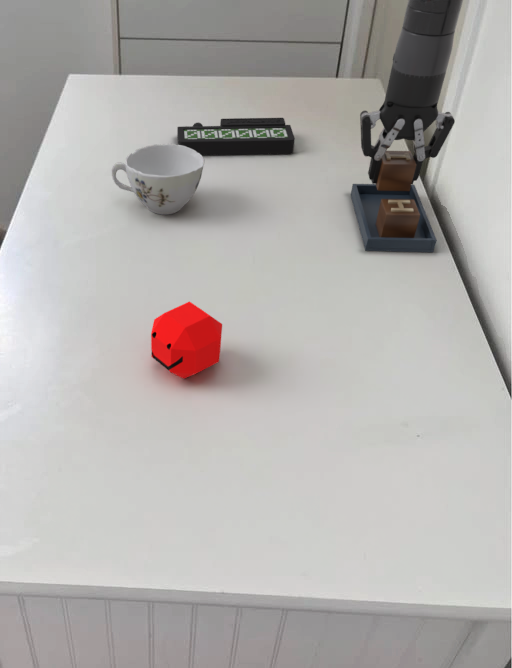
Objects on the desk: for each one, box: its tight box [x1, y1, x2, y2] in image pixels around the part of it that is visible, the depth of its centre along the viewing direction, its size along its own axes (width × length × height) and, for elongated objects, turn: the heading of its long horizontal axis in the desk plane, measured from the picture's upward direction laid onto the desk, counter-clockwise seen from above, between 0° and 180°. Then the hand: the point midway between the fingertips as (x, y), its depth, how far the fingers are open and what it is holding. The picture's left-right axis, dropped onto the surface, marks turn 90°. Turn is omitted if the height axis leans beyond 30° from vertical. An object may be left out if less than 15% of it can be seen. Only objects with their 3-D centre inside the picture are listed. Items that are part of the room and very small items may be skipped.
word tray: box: [350, 183, 437, 253], centre depth 114 cm, size 10×18×2 cm, turn 176°
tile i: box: [376, 150, 416, 191], centre depth 113 cm, size 5×5×4 cm
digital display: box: [176, 117, 296, 157], centre depth 135 cm, size 21×3×10 cm
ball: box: [150, 301, 223, 380], centre depth 88 cm, size 8×8×8 cm
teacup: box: [111, 143, 205, 216], centre depth 117 cm, size 15×12×8 cm
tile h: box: [376, 199, 420, 238], centre depth 110 cm, size 5×5×4 cm
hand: (391, 181), depth 114 cm, fingers closed on tile i, 5 cm apart
